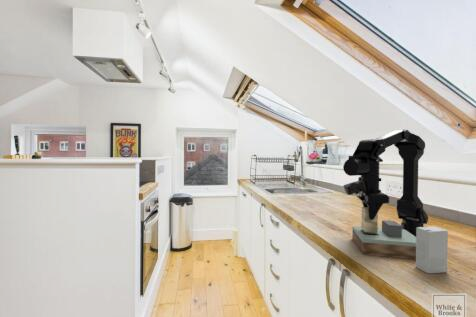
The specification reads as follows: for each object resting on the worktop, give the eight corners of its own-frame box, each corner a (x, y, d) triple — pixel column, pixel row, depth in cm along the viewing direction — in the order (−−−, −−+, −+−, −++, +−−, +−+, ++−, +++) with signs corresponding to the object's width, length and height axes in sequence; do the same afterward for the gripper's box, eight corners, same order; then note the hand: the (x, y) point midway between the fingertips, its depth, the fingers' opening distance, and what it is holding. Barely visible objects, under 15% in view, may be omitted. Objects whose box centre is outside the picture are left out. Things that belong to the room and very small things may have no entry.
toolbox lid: (404, 232, 86) (404, 218, 86) (425, 247, 72) (425, 231, 72) (352, 228, 90) (352, 215, 90) (363, 242, 77) (363, 226, 76)
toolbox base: (404, 243, 86) (404, 232, 86) (425, 259, 72) (425, 247, 72) (352, 239, 90) (352, 228, 90) (362, 254, 77) (363, 242, 77)
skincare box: (433, 265, 69) (433, 225, 68) (448, 273, 64) (449, 230, 64) (414, 266, 68) (414, 226, 68) (428, 274, 64) (428, 231, 63)
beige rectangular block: (373, 229, 84) (373, 207, 84) (377, 232, 80) (377, 210, 80) (361, 228, 85) (361, 206, 85) (364, 231, 81) (365, 209, 81)
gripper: (340, 172, 93) (340, 210, 93) (351, 176, 75) (351, 224, 75) (370, 172, 90) (370, 212, 91) (390, 177, 72) (389, 226, 72)
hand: (369, 218), depth 82 cm, fingers closed on beige rectangular block, 4 cm apart
